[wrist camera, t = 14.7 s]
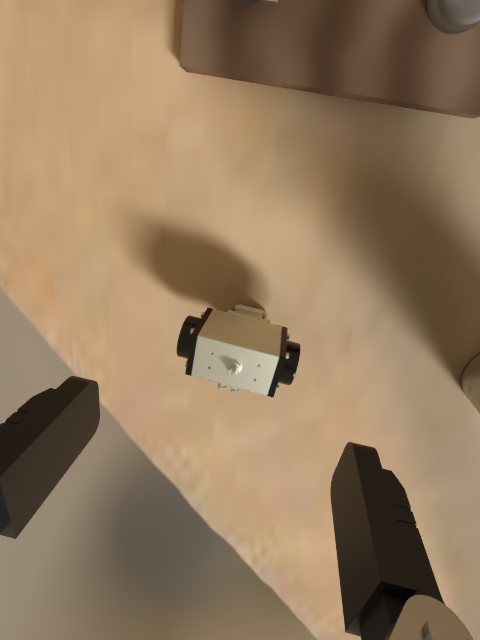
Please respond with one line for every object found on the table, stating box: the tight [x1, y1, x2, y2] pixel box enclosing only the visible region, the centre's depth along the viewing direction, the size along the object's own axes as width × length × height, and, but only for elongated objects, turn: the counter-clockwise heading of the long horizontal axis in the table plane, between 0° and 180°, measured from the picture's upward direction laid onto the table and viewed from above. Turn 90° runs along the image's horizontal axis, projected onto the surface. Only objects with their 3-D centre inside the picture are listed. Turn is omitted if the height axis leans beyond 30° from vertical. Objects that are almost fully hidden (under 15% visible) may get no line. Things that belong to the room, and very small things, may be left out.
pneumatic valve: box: [177, 304, 300, 397], centre depth 34 cm, size 6×12×12 cm, turn 79°
